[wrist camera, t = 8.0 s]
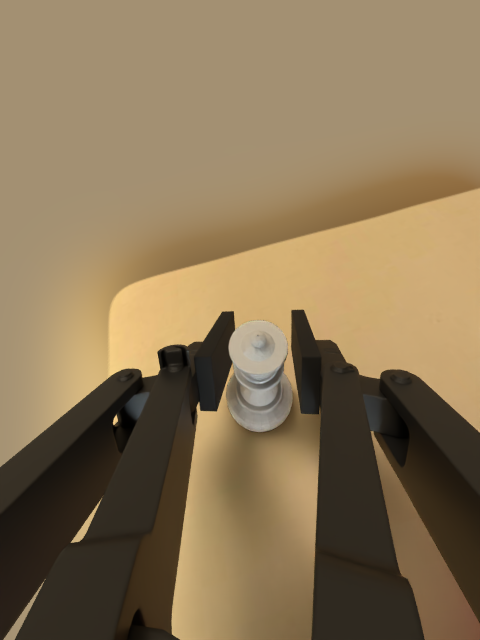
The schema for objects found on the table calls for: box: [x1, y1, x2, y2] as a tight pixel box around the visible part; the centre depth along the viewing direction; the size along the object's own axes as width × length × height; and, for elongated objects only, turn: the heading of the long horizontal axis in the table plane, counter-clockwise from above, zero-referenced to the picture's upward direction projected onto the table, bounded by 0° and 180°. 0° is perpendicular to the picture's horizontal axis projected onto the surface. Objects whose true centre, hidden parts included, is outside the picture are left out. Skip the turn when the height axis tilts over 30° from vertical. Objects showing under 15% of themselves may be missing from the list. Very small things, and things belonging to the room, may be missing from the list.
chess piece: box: [226, 320, 293, 432], centre depth 14 cm, size 4×4×10 cm
